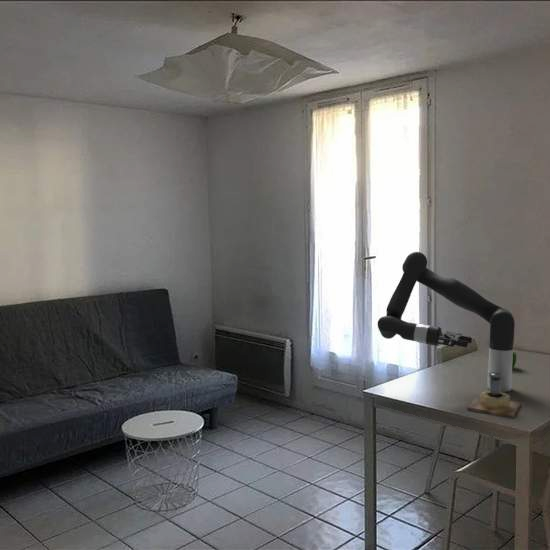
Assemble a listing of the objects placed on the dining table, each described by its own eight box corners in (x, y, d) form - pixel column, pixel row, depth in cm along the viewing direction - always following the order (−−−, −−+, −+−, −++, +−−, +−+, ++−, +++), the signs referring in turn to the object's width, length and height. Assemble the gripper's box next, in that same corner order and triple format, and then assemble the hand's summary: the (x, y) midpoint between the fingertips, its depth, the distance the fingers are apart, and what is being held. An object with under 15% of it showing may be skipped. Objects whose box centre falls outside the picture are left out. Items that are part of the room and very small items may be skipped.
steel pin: (485, 403, 226) (486, 372, 224) (497, 402, 226) (498, 372, 225) (491, 407, 221) (492, 376, 220) (503, 406, 222) (504, 375, 220)
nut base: (467, 409, 221) (468, 396, 221) (477, 398, 235) (478, 386, 234) (513, 417, 213) (513, 404, 212) (520, 405, 226) (521, 392, 226)
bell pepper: (512, 366, 284) (513, 345, 283) (518, 370, 275) (519, 349, 274) (494, 365, 284) (495, 345, 283) (499, 370, 276) (500, 349, 275)
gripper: (424, 328, 228) (467, 336, 220) (433, 322, 240) (474, 329, 233) (421, 347, 229) (464, 355, 221) (430, 340, 241) (471, 348, 234)
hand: (469, 342), depth 227 cm, fingers open, 8 cm apart
